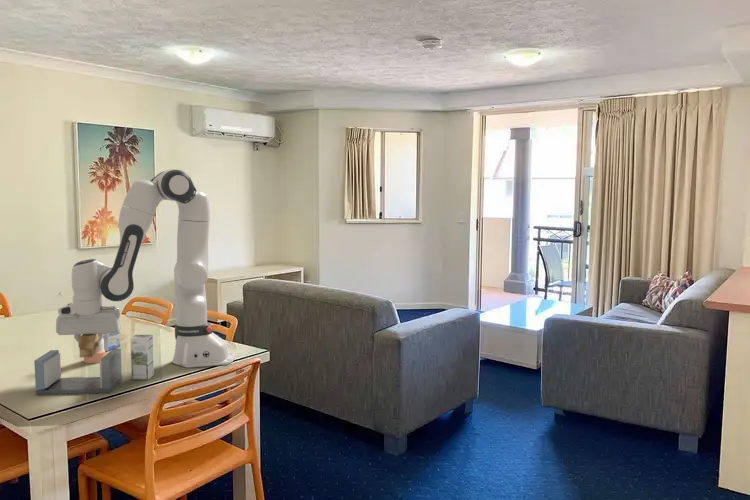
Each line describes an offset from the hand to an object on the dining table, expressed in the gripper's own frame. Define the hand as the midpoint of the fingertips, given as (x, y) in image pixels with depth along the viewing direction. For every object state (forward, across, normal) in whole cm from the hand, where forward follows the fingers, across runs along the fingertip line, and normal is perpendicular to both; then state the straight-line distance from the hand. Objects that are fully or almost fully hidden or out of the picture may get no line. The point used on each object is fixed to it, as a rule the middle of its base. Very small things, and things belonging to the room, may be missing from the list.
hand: (90, 346), depth 200 cm
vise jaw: (+8, +8, +14) cm, 18 cm away
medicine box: (+10, +5, -34) cm, 36 cm away
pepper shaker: (+10, +5, -17) cm, 20 cm away
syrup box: (+10, -18, +5) cm, 22 cm away
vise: (+10, -2, +14) cm, 17 cm away
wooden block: (+3, 0, 0) cm, 3 cm away
